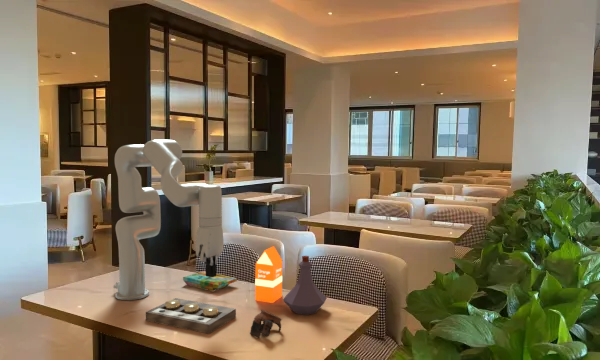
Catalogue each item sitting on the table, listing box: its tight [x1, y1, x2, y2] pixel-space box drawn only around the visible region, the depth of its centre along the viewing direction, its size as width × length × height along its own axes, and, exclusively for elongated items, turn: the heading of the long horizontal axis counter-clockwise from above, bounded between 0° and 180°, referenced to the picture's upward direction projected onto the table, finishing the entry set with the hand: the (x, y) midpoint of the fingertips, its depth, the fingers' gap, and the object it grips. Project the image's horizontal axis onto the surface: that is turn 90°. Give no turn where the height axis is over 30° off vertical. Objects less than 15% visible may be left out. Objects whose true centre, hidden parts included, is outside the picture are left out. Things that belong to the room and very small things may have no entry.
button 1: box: [164, 299, 180, 311], centre depth 165 cm, size 5×5×2 cm
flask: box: [282, 255, 327, 316], centre depth 171 cm, size 16×16×20 cm
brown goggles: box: [249, 309, 282, 339], centre depth 150 cm, size 12×10×8 cm
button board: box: [145, 297, 237, 335], centre depth 162 cm, size 26×16×3 cm, turn 66°
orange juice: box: [254, 245, 283, 304], centre depth 184 cm, size 8×9×20 cm
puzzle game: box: [182, 270, 238, 292], centre depth 200 cm, size 12×5×20 cm
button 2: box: [203, 307, 218, 318], centre depth 159 cm, size 5×5×2 cm
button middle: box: [184, 303, 199, 315], centre depth 162 cm, size 5×5×2 cm
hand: (211, 276), depth 158 cm, fingers closed
